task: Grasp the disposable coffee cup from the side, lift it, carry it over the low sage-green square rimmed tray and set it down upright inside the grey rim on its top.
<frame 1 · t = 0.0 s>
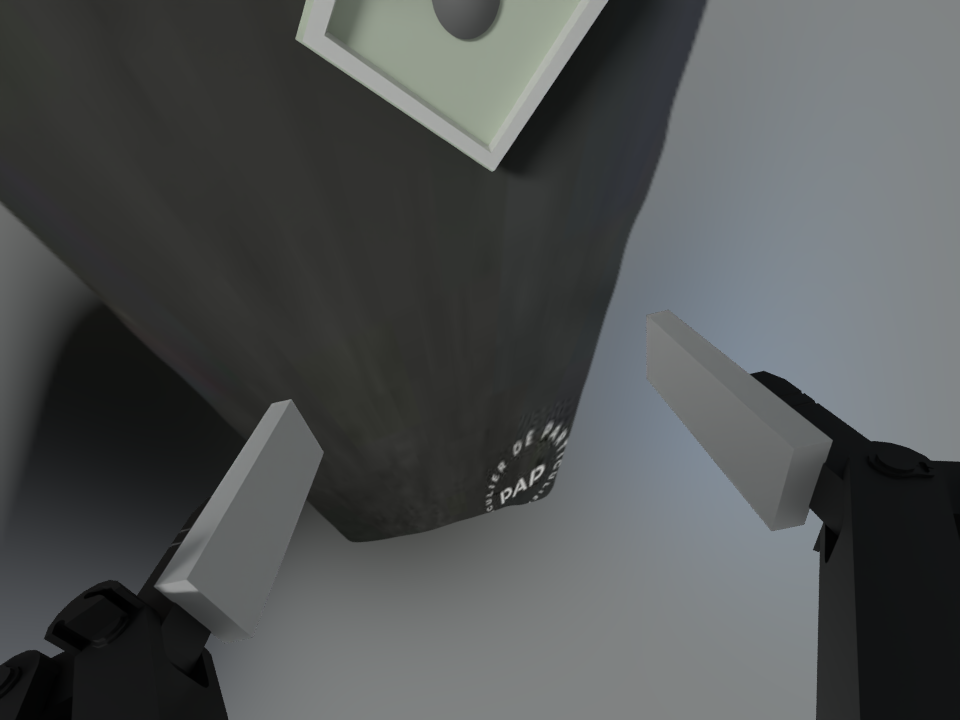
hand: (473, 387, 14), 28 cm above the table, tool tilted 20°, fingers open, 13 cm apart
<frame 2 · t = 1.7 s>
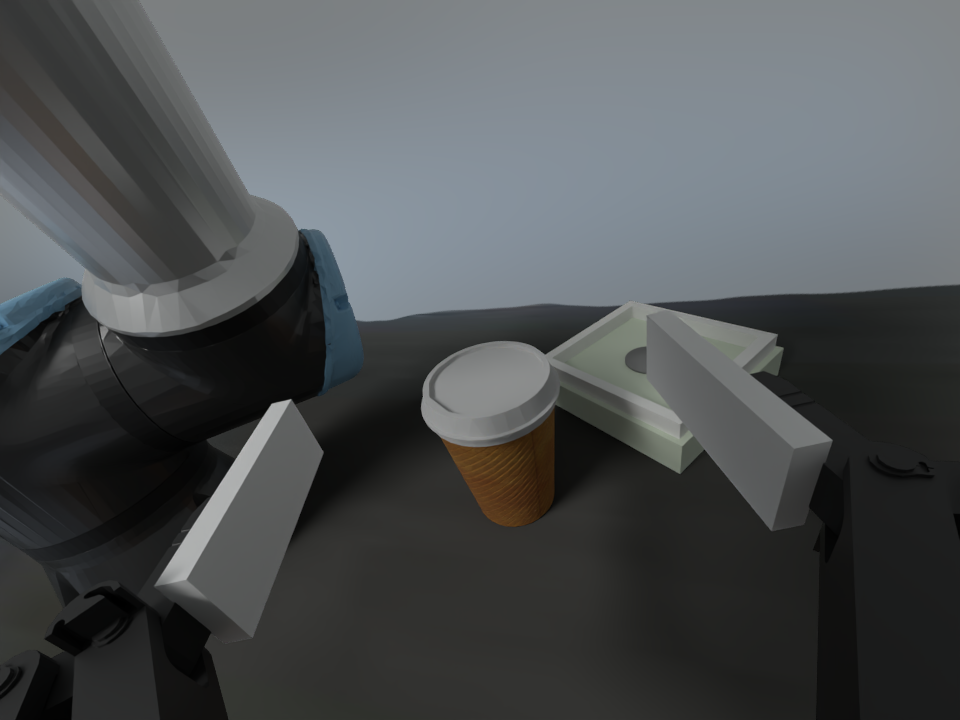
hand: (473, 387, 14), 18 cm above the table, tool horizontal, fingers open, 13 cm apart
square rimmed tray: (649, 385, 39), on the table
disposable coffee cup: (516, 494, 32), on the table
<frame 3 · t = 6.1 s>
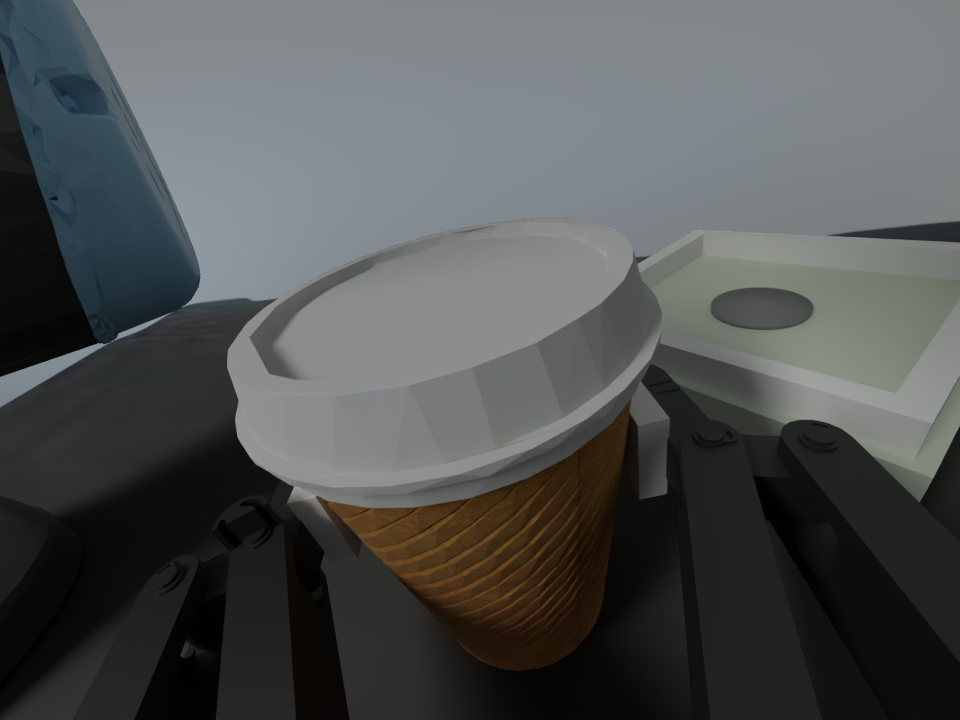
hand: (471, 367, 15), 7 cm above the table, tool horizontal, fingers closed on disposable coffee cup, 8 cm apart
square rimmed tray: (750, 356, 22), on the table
disposable coffee cup: (519, 575, 15), on the table, touching gripper
when the fingers open (11 cm above the table, at t = 10.4 s): disposable coffee cup moves 3 cm, point 4 cm above the table.
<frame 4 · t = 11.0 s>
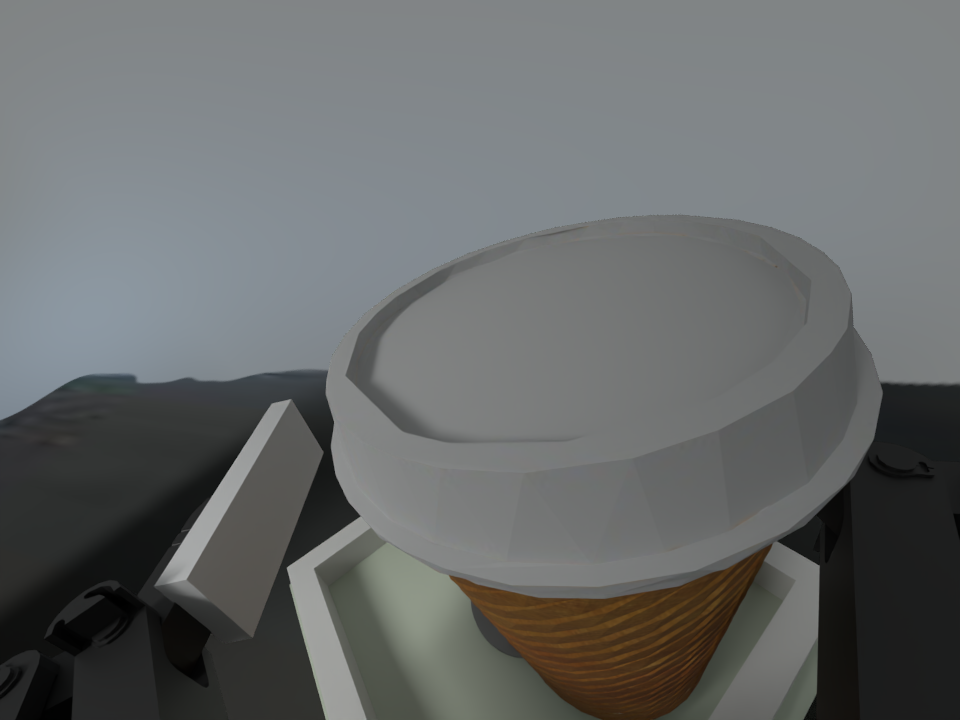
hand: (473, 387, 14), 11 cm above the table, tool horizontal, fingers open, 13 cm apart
square rimmed tray: (535, 628, 17), on the table
disposable coffee cup: (605, 607, 14), point 4 cm above the table, touching gripper
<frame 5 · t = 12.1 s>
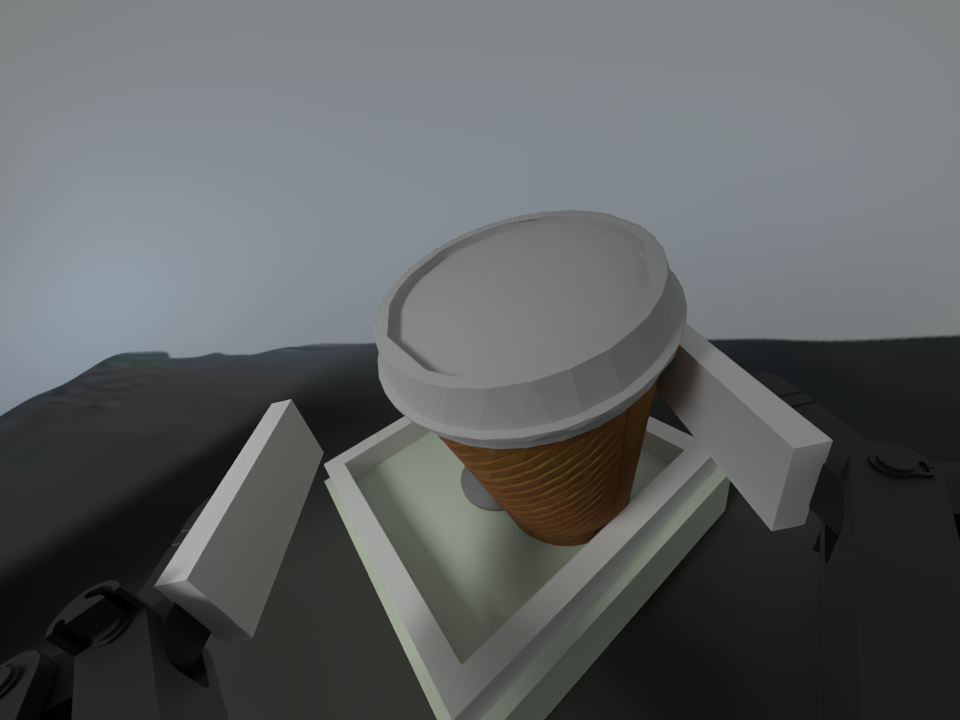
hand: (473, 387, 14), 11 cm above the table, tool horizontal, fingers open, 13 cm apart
square rimmed tray: (510, 510, 23), on the table
disposable coffee cup: (564, 483, 19), point 3 cm above the table, touching square rimmed tray, gripper
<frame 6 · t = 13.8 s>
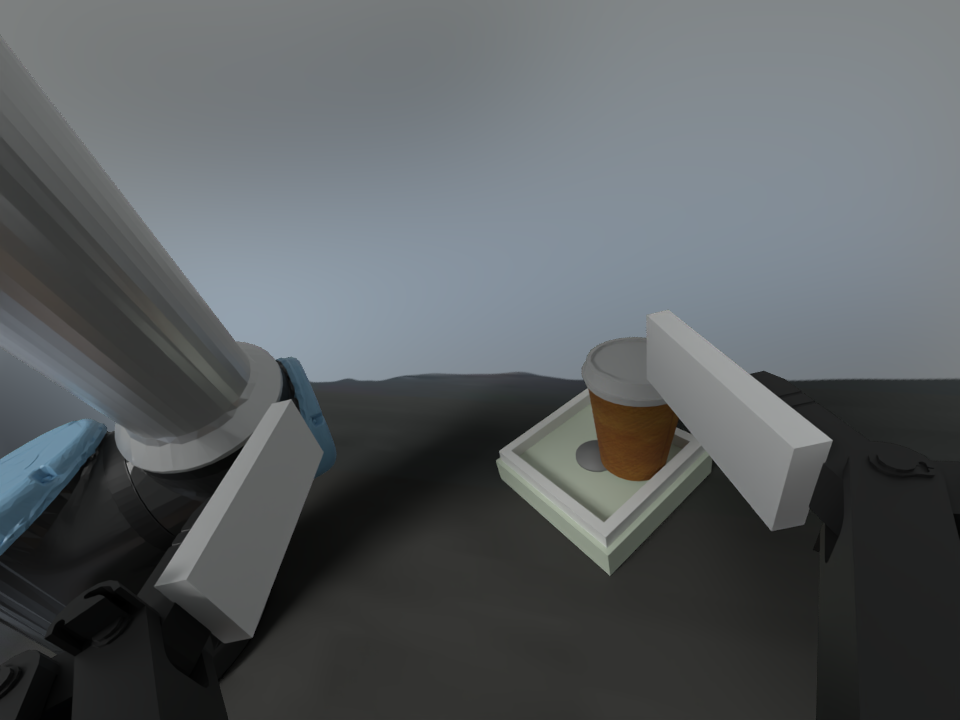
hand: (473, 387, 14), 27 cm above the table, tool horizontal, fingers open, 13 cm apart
square rimmed tray: (598, 475, 43), on the table
disposable coffee cup: (632, 460, 40), point 3 cm above the table, touching square rimmed tray
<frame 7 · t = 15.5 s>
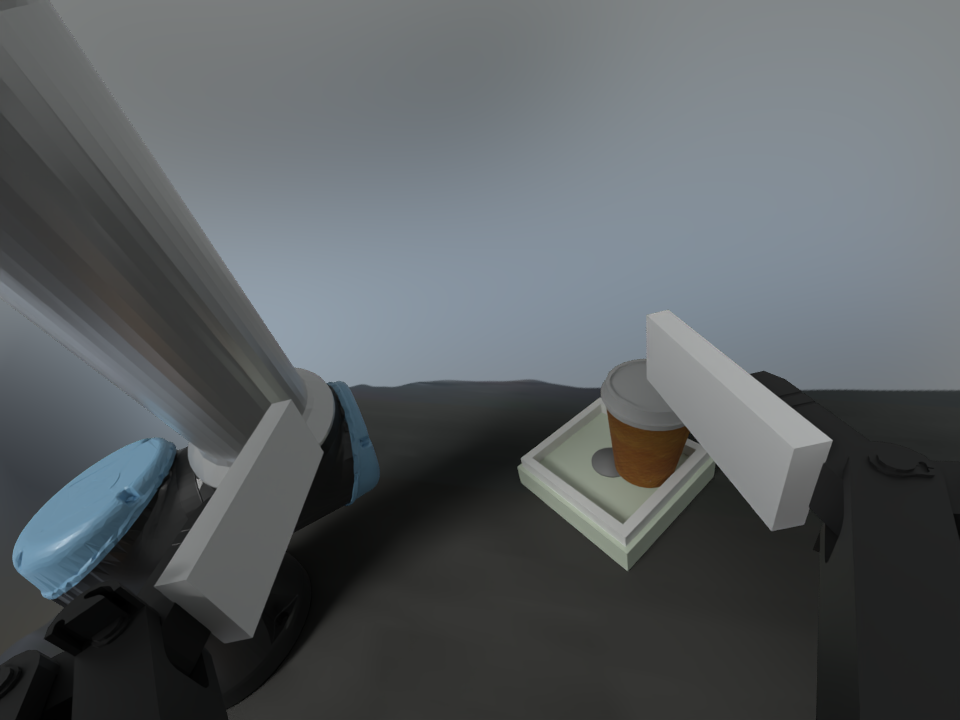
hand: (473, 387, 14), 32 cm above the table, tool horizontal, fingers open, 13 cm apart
square rimmed tray: (611, 479, 47), on the table
disposable coffee cup: (643, 467, 44), point 3 cm above the table, touching square rimmed tray
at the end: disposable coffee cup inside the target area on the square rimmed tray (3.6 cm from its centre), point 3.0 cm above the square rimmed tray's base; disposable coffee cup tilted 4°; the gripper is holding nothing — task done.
